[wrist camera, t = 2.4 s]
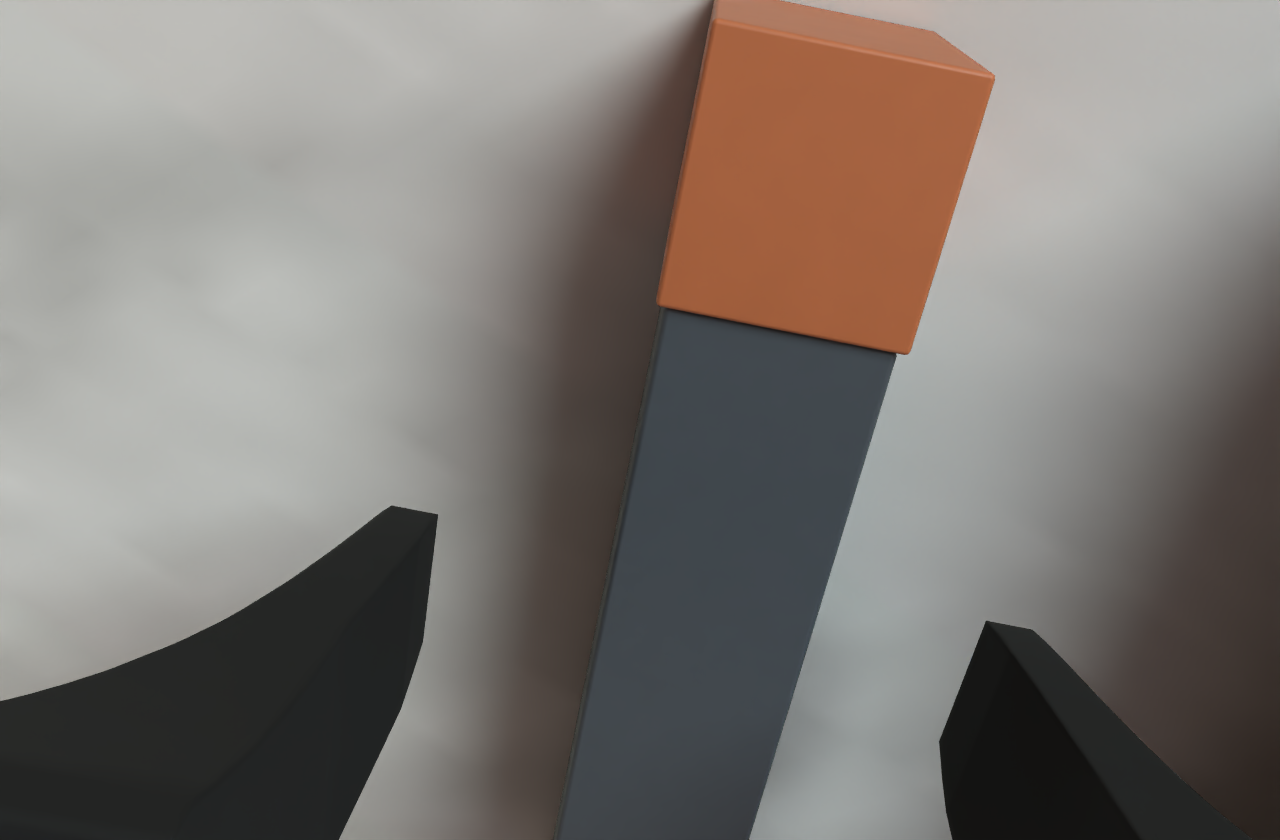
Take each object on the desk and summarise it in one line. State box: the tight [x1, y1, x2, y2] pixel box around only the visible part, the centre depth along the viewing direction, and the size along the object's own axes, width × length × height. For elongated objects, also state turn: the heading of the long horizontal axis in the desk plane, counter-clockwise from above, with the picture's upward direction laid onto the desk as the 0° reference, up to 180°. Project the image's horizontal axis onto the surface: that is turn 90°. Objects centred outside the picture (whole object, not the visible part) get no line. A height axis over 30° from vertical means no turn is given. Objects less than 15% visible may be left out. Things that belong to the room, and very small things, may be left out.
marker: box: [553, 0, 995, 840], centre depth 16 cm, size 15×3×4 cm, turn 170°
